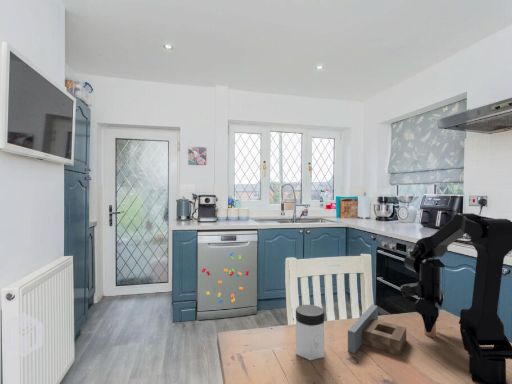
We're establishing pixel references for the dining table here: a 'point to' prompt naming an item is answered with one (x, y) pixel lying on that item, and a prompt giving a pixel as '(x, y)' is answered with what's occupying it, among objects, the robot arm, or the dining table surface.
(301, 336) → the jar
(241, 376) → the dining table surface
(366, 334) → the block
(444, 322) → the dining table surface
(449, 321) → the dining table surface
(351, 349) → the bar
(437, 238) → the robot arm
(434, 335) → the dowel
